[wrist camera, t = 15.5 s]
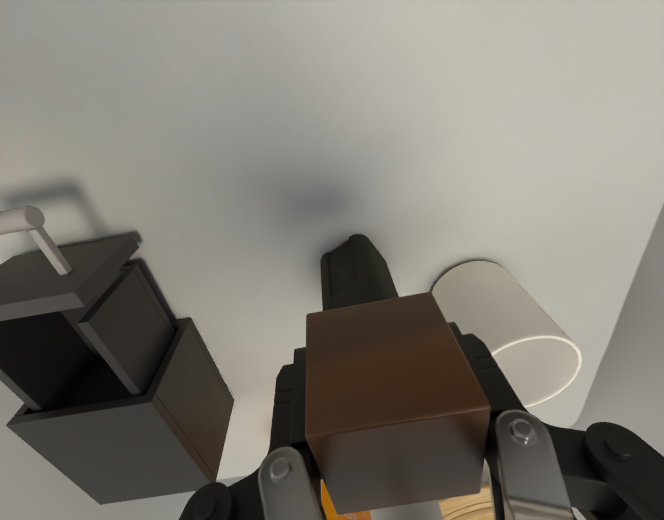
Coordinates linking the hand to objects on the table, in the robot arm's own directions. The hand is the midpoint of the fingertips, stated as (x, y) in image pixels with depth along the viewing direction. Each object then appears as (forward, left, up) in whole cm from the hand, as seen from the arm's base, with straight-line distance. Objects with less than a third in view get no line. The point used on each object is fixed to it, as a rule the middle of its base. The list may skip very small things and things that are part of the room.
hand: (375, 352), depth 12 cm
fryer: (+23, -15, -17) cm, 33 cm away
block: (0, 0, 0) cm, 0 cm away
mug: (+9, +14, -17) cm, 24 cm away
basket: (+11, -20, -16) cm, 28 cm away
